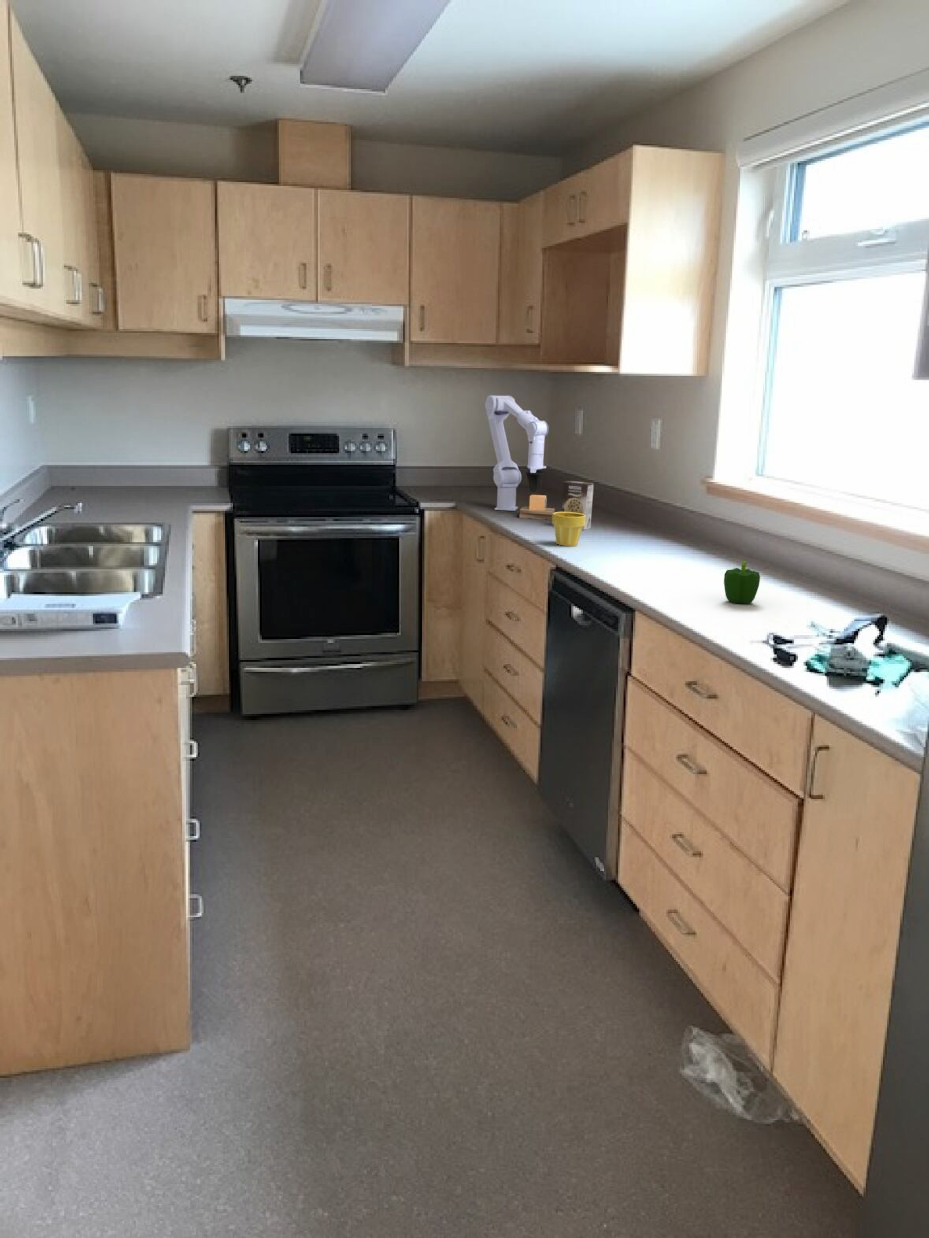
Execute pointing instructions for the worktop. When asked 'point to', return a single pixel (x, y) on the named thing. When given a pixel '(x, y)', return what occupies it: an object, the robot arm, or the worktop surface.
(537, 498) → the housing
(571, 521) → the plant pot
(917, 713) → the worktop surface
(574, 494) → the brown cookie box
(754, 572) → the bell pepper
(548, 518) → the stand
